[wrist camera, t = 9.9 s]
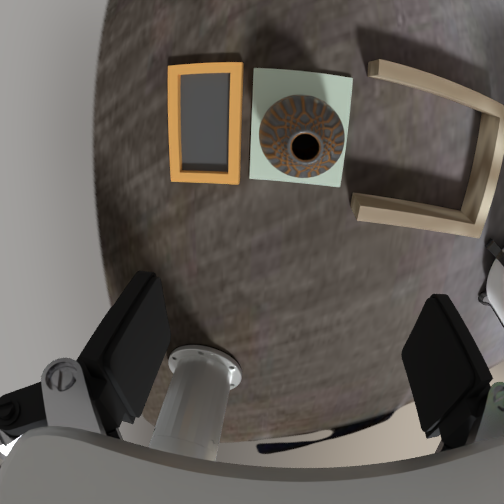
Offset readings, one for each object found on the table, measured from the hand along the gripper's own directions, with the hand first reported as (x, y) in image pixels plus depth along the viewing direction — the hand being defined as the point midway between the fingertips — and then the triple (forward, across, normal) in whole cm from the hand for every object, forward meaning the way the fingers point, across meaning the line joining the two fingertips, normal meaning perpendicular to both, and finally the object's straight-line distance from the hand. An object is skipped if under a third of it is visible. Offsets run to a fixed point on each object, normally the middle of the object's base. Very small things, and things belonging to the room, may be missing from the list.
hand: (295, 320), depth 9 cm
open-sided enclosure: (+21, -14, -4) cm, 25 cm away
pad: (+21, -1, -4) cm, 21 cm away
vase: (+21, -1, -4) cm, 21 cm away
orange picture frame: (+21, +8, -4) cm, 23 cm away
